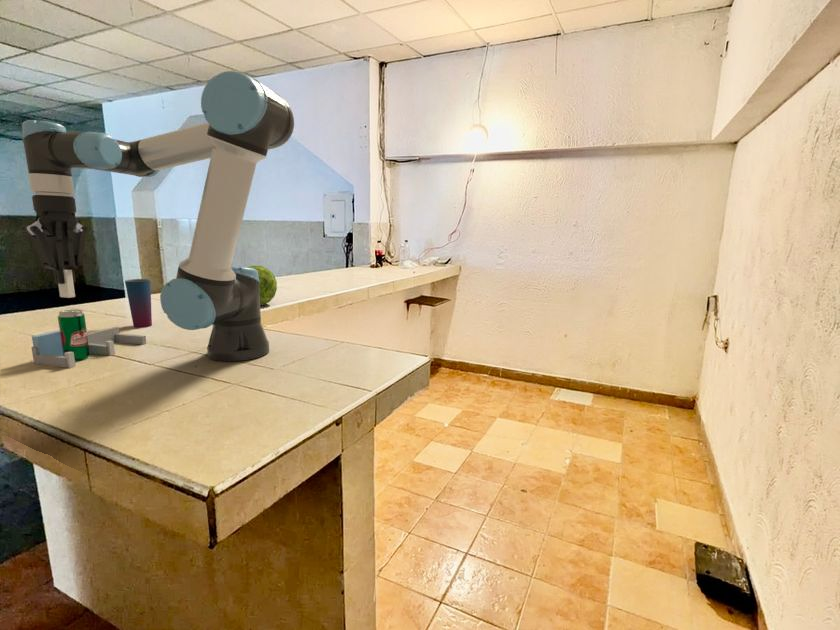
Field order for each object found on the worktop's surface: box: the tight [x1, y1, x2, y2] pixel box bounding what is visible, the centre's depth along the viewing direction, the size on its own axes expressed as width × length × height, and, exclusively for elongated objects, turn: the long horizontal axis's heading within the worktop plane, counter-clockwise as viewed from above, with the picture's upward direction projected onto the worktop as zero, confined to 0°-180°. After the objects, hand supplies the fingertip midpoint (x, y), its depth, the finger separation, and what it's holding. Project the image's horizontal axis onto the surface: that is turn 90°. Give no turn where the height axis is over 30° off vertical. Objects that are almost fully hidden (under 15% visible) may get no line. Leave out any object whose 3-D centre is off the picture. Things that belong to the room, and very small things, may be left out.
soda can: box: [57, 309, 91, 362], centre depth 104 cm, size 5×5×12 cm
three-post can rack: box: [30, 326, 147, 369], centre depth 109 cm, size 11×22×6 cm, turn 167°
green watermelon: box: [246, 265, 278, 306], centre depth 180 cm, size 17×23×16 cm
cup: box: [124, 278, 153, 329], centre depth 137 cm, size 7×7×15 cm
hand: (67, 296), depth 102 cm, fingers closed
